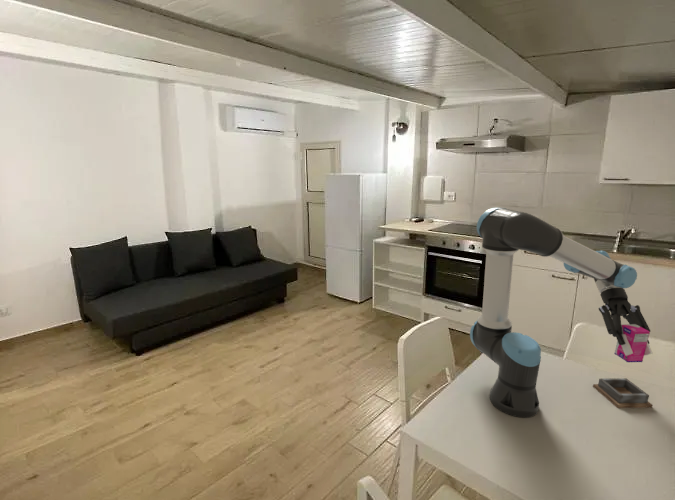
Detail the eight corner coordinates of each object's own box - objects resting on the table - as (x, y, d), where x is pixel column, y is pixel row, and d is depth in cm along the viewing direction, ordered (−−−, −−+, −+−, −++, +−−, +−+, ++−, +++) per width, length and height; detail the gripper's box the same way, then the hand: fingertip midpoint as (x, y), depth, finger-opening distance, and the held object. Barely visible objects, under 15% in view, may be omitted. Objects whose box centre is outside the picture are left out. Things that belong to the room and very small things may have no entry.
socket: (617, 407, 127) (619, 397, 126) (592, 386, 138) (594, 376, 137) (652, 407, 127) (654, 397, 126) (624, 386, 139) (626, 376, 138)
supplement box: (613, 354, 132) (620, 323, 129) (628, 353, 133) (636, 323, 130) (627, 362, 127) (635, 331, 124) (643, 362, 127) (651, 331, 124)
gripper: (629, 295, 141) (657, 357, 129) (580, 295, 140) (604, 357, 128) (644, 286, 134) (675, 350, 123) (592, 286, 134) (619, 351, 122)
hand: (638, 354), depth 125 cm, fingers closed on supplement box, 6 cm apart
